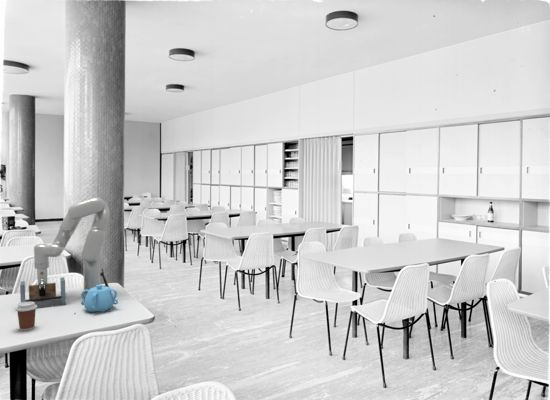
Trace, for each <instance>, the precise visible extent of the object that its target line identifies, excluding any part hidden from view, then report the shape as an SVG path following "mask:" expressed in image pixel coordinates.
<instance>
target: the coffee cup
mask: <svg viewBox="0 0 550 400" xmlns="http://www.w3.org/2000/svg"><path fill="white" fill-rule="evenodd" d="M36 308H37V305H35V303H34V302H23V303H21V302H20V303H18V304H17V306H16V307H15V312H17V318H18V327H19V331H29V330H33V329H35V326H36V325H35V324H36V310H37V309H38V308H37V309H36Z"/></svg>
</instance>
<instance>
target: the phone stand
mask: <svg viewBox="0 0 550 400" xmlns="http://www.w3.org/2000/svg"><path fill="white" fill-rule="evenodd" d="M101 271H102V272H100V277H101V276H102V280H103V283H104V286H105V287H109V283H108V281H107V278H106V276H105V275H104V273H105V271H104V269H103V268H101ZM109 288H110V287H109Z"/></svg>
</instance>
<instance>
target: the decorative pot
mask: <svg viewBox="0 0 550 400" xmlns="http://www.w3.org/2000/svg"><path fill="white" fill-rule="evenodd" d="M84 292H88V293H87V295H86V298H85V297H84ZM113 292H114V294H113ZM117 293H118V291H117V290H116V289H114V288H110V287H105V285H103V284H101V285H96V287H93V288H91V289H90V290H84V289H83V291H82V292H81V294H82V300H81V302H80V305H81V306H84V309H85V310H86V311H88V312H89V313H94V312H101V313H105V312H107V310H109V309H112V307H113V306H114V305H118V303H119V301H118V299H117V295H118V294H117Z"/></svg>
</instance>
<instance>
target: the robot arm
mask: <svg viewBox="0 0 550 400" xmlns="http://www.w3.org/2000/svg"><path fill="white" fill-rule="evenodd" d="M91 215H94V217H93V221H92V223H91V227H90V229H89V231H88V233H87V235H86V238H85V241H84V245H83V248H82V251H81V257H82V259H83V260H82V264H83V268H82V269H83V291H84V290H90V289H91V288H93V287H96V285H102V284H101V282H102V281H101V276H100V273H101V250H102V248H103V243H104V240H105V237H106V230H107V228H108V224H109V220H110V215H111V213H110V208H109V205H108V204H107V202H106V201H105V200H104V199H102V198H101V197H98V196H97V197H93V198H91V199H88V200H85V201H82V202H79V203H75V204H73V205H71V206H70V207H69V208H68V210H67V212H66V215H65V217H64V218H63V220H62V222H61V223H60V226H59V230H58V232H57V234H56V236H55V238H54V240H53V242H52V243H51V244H50V245H49V244H46V243H39V244H36V245H34V247H33V253H34V254H33V259H34V263H33V264H34V269H35V270H36V277H37V285H39V286H40V289H39V296H45V295H46V293H45V284H46V285H47V284H48V283H49V282H48V268H49V267H50V261H49V260H50V259H49V257H50V258H56V257H59V256H61V255H62V254H63V252H64V250H65V248H66V247H67V245H68V243H69V241H70V239H71V238H72V236H73V235H74V233H75V231H76V229H77V228H78V226H79V224H80V222H81V220H82V218H85V217H89V216H91ZM87 293H88V292H84V297H85V298H86V295H87ZM80 295H81V296H80V297H82V293H81V294H80Z"/></svg>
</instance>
